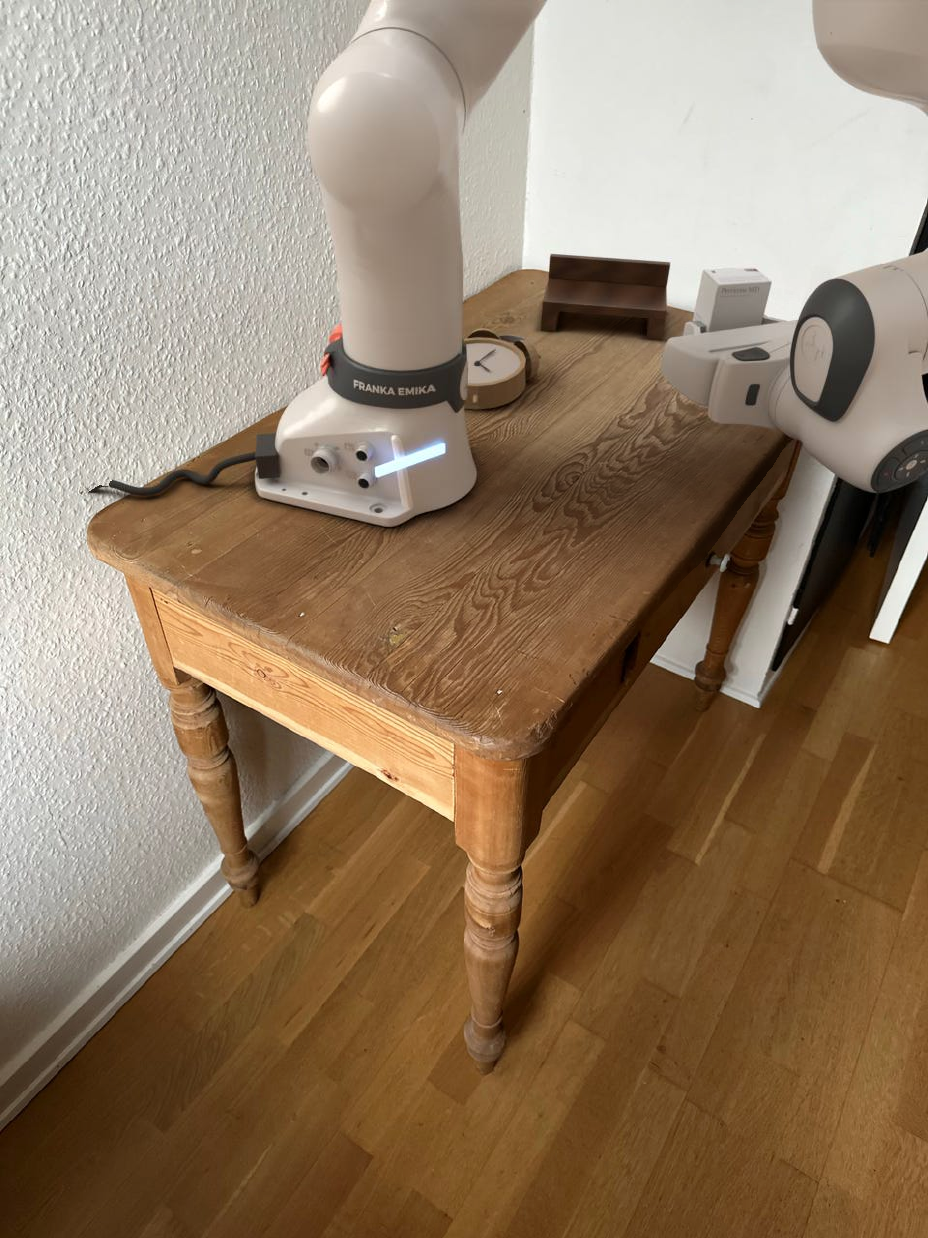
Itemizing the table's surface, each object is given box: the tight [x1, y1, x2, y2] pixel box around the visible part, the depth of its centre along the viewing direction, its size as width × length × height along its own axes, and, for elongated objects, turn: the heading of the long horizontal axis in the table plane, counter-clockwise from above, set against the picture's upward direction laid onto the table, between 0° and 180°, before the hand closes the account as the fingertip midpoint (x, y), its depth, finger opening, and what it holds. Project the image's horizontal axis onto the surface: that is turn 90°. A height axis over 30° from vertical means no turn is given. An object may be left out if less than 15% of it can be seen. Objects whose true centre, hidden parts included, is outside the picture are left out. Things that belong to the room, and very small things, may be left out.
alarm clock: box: [463, 327, 542, 410], centre depth 108 cm, size 11×5×15 cm
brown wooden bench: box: [540, 253, 671, 341], centre depth 120 cm, size 16×9×7 cm, turn 81°
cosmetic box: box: [692, 267, 772, 333], centre depth 96 cm, size 6×4×12 cm
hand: (720, 323), depth 96 cm, fingers closed on cosmetic box, 6 cm apart
